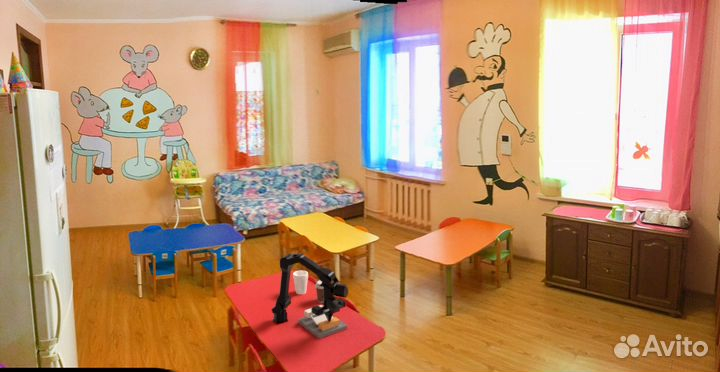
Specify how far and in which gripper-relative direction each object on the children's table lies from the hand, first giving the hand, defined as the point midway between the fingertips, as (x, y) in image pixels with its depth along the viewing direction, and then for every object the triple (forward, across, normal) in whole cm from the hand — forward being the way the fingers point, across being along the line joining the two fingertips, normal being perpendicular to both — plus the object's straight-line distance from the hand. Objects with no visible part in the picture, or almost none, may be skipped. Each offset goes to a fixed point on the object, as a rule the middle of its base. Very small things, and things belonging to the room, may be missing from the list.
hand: (329, 321), depth 265 cm
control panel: (+6, 0, +7) cm, 9 cm away
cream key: (+2, 0, +15) cm, 15 cm away
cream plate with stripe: (+1, 0, +7) cm, 7 cm away
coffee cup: (+6, +17, +34) cm, 38 cm away
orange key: (+3, 0, 0) cm, 3 cm away
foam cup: (+6, +12, +52) cm, 54 cm away
